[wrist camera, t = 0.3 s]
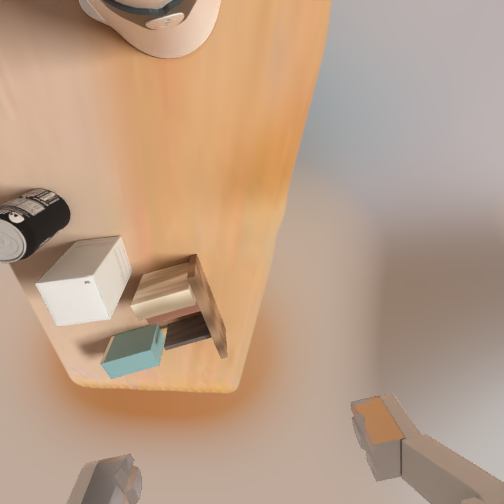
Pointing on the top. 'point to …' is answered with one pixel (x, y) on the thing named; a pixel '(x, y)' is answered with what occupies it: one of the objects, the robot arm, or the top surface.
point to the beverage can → (30, 223)
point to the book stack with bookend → (181, 305)
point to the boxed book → (133, 351)
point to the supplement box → (86, 281)
